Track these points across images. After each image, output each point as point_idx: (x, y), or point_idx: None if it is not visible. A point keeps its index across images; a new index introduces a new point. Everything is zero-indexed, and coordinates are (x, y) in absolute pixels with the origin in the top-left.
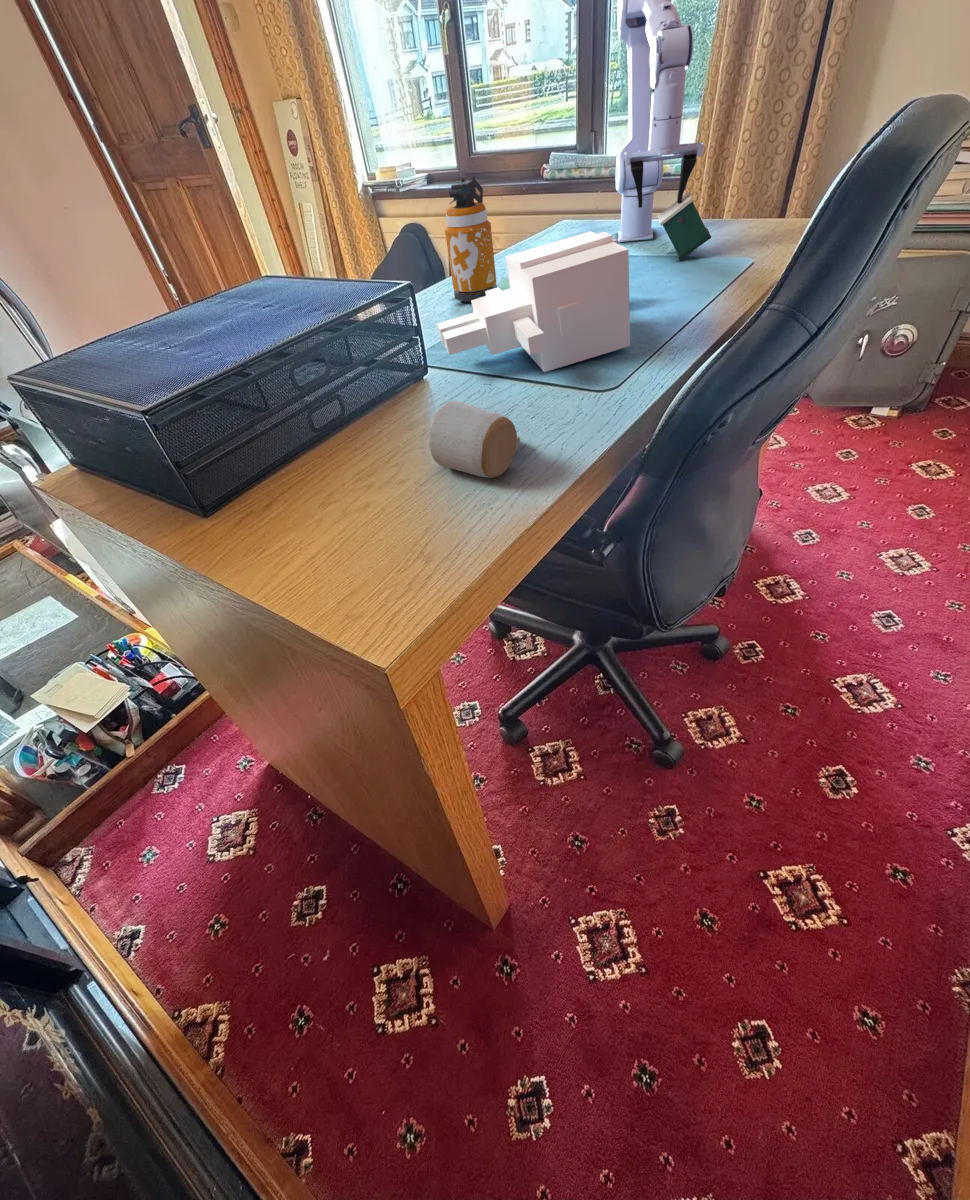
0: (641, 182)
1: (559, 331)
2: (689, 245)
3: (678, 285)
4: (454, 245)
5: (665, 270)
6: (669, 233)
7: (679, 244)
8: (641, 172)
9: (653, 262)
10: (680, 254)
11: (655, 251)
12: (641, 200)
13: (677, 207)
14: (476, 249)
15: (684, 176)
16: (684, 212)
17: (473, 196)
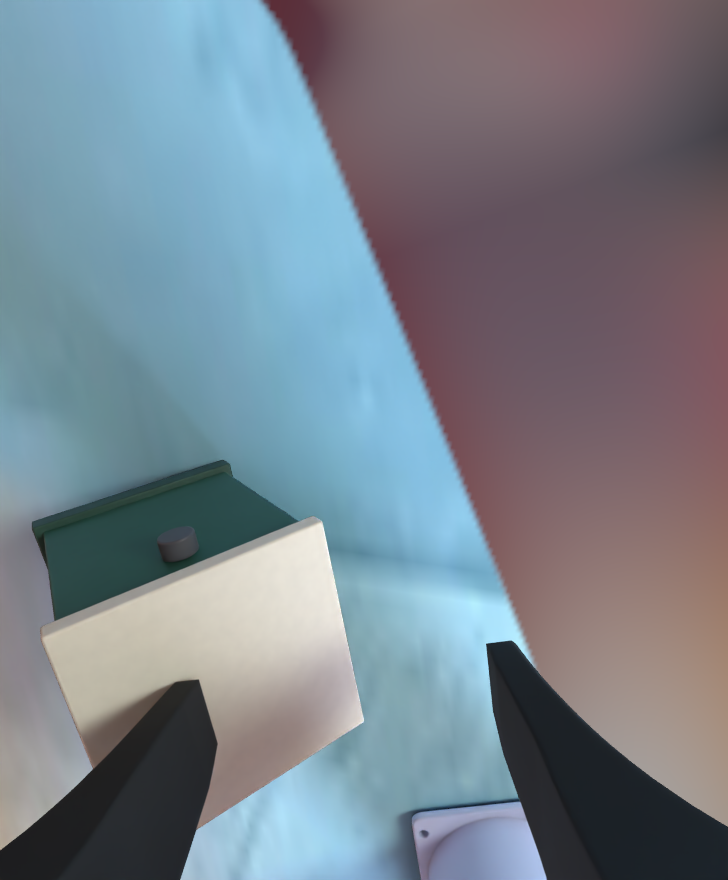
0: (564, 779)
1: None
2: (161, 498)
3: None
4: None
5: (268, 298)
6: (263, 508)
7: (213, 491)
8: (620, 861)
9: (356, 456)
10: (216, 474)
11: (372, 638)
12: (505, 668)
13: (193, 626)
14: None
15: (54, 839)
16: (140, 578)
17: None
